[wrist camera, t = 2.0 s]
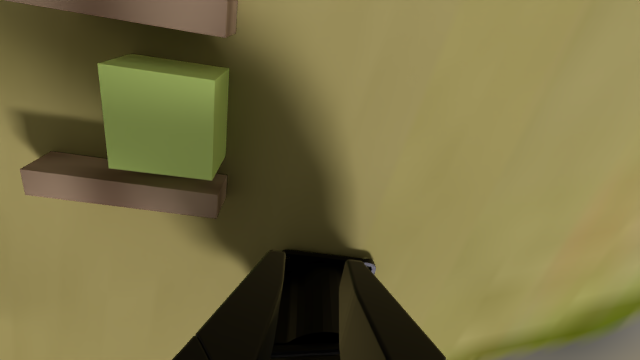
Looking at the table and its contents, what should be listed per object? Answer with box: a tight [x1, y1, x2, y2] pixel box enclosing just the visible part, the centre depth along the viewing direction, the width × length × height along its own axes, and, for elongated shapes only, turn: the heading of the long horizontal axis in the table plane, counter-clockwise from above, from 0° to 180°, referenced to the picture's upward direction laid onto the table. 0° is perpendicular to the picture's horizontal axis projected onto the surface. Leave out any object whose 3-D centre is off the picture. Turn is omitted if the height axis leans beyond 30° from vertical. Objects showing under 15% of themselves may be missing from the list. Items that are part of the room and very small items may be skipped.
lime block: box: [97, 54, 229, 181], centre depth 19 cm, size 5×5×4 cm
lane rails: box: [6, 0, 238, 219], centre depth 19 cm, size 10×11×2 cm
